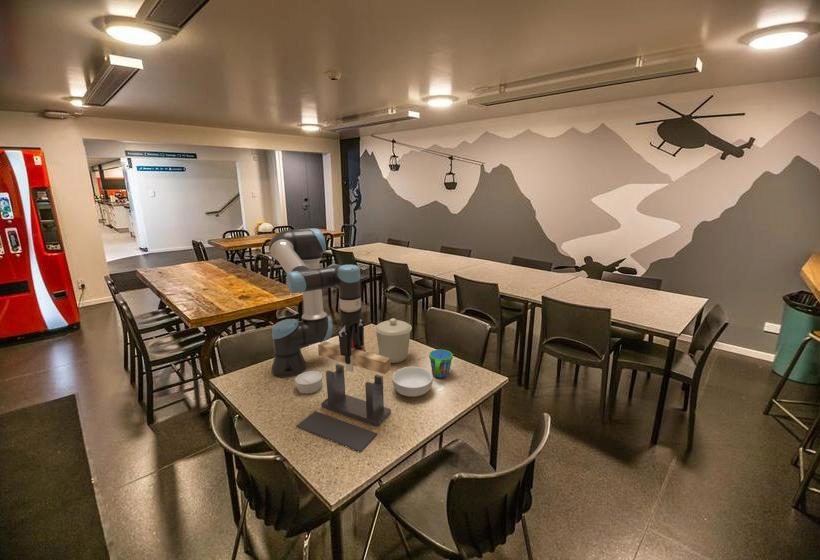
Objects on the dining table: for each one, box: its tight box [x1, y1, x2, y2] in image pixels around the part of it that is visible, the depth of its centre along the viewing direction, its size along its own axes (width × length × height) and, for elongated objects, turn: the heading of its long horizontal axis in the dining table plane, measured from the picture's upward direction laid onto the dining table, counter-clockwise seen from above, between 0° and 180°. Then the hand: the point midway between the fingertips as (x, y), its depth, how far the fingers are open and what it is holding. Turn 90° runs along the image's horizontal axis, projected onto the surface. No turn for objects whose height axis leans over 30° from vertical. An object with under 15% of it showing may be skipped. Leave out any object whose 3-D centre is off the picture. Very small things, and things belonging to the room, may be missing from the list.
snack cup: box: [428, 349, 454, 379], centre depth 165 cm, size 16×10×10 cm
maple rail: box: [317, 341, 391, 375], centre depth 135 cm, size 30×4×4 cm, turn 62°
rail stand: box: [321, 363, 392, 428], centre depth 139 cm, size 26×9×16 cm, turn 62°
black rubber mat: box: [295, 410, 378, 453], centre depth 129 cm, size 28×10×1 cm, turn 62°
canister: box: [374, 317, 413, 364], centre depth 180 cm, size 18×18×21 cm
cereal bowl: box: [391, 366, 434, 397], centre depth 153 cm, size 17×17×7 cm
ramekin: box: [294, 370, 323, 395], centre depth 156 cm, size 11×11×5 cm
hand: (353, 368), depth 136 cm, fingers closed on maple rail, 4 cm apart
